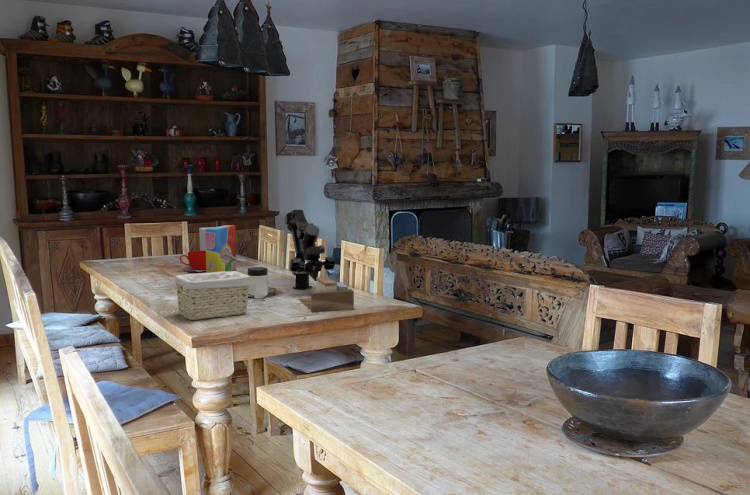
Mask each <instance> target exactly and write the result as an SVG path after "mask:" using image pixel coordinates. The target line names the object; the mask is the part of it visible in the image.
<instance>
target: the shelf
mask: <svg viewBox="0 0 750 495" xmlns="http://www.w3.org/2000/svg"><path fill="white" fill-rule="evenodd" d="M354 294H355V291H354V290H353V289H352V290H351V291H334V292H317V293H316V292H311V293H310V295H311V296H310V298H298V299H297V300H298V301H299V302H301V303H302V305H304V306H305V307H306V309H308V310H309V311H310V312H312V313H319V312H321V313H322V312H323V313H324V312H334V311H335V312H337V311H353V310H355V309H354V306H355V301H354V298H355V297H354V296H355V295H354ZM308 305H311V309H310V308H309V307H308Z"/></svg>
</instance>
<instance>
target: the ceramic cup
mask: <svg viewBox="0 0 750 495" xmlns="http://www.w3.org/2000/svg"><path fill="white" fill-rule="evenodd" d="M182 257H185V258H186V259H187V261H188V263H185V262H184V261H183V260H182ZM179 261H180V263H181V264H183V265H185V266H188V267H190V268H191V269H192V270H193V271H194V270H206V251H200V250H193V251H188V252H187V255H186V254H183V255H182V254H181V255H180V256H179Z"/></svg>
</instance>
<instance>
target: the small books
mask: <svg viewBox="0 0 750 495" xmlns="http://www.w3.org/2000/svg"><path fill="white" fill-rule="evenodd" d="M336 282H337V281H336ZM351 290H353V288H351V287H349V285H346V284H345V283H343V282H341V281H338V282H337V291H351Z"/></svg>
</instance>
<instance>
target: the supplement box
mask: <svg viewBox="0 0 750 495" xmlns="http://www.w3.org/2000/svg"><path fill="white" fill-rule="evenodd" d="M214 227H215V226H214ZM214 227H213V226H210V227H199V228H198V231H199V232H198V233H199V251H206V236H205V229H208V228H214Z"/></svg>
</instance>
